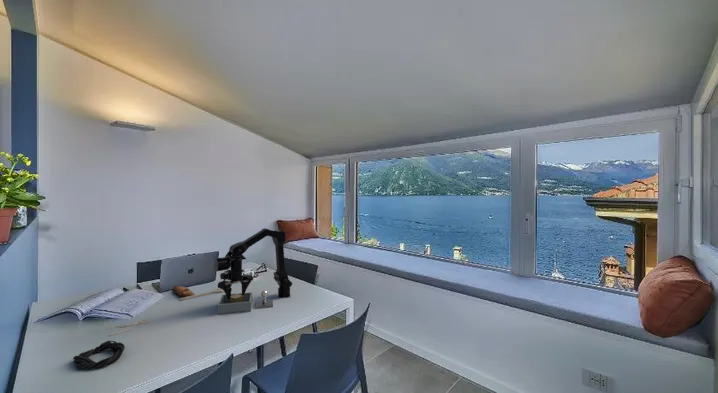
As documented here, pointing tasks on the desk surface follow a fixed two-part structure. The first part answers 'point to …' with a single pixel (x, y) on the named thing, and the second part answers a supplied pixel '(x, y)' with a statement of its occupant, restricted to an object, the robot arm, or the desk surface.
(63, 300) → the desk surface
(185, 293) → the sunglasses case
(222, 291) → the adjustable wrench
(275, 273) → the robot arm
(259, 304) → the metal ball pedestal
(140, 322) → the forked twig
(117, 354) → the cable
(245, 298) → the bin
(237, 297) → the wooden block
